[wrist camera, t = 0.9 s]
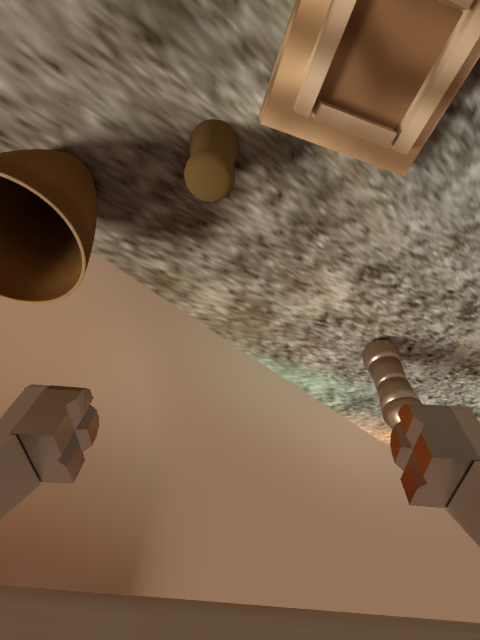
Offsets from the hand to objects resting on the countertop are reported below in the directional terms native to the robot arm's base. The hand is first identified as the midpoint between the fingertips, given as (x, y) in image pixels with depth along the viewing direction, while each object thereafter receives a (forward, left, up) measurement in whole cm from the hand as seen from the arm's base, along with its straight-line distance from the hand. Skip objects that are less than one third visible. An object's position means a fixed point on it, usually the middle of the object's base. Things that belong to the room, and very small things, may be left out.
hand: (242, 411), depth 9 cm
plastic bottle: (+31, +38, -41) cm, 64 cm away
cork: (+6, -1, -41) cm, 41 cm away
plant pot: (+16, -18, -41) cm, 48 cm away
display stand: (-8, +12, -41) cm, 43 cm away
